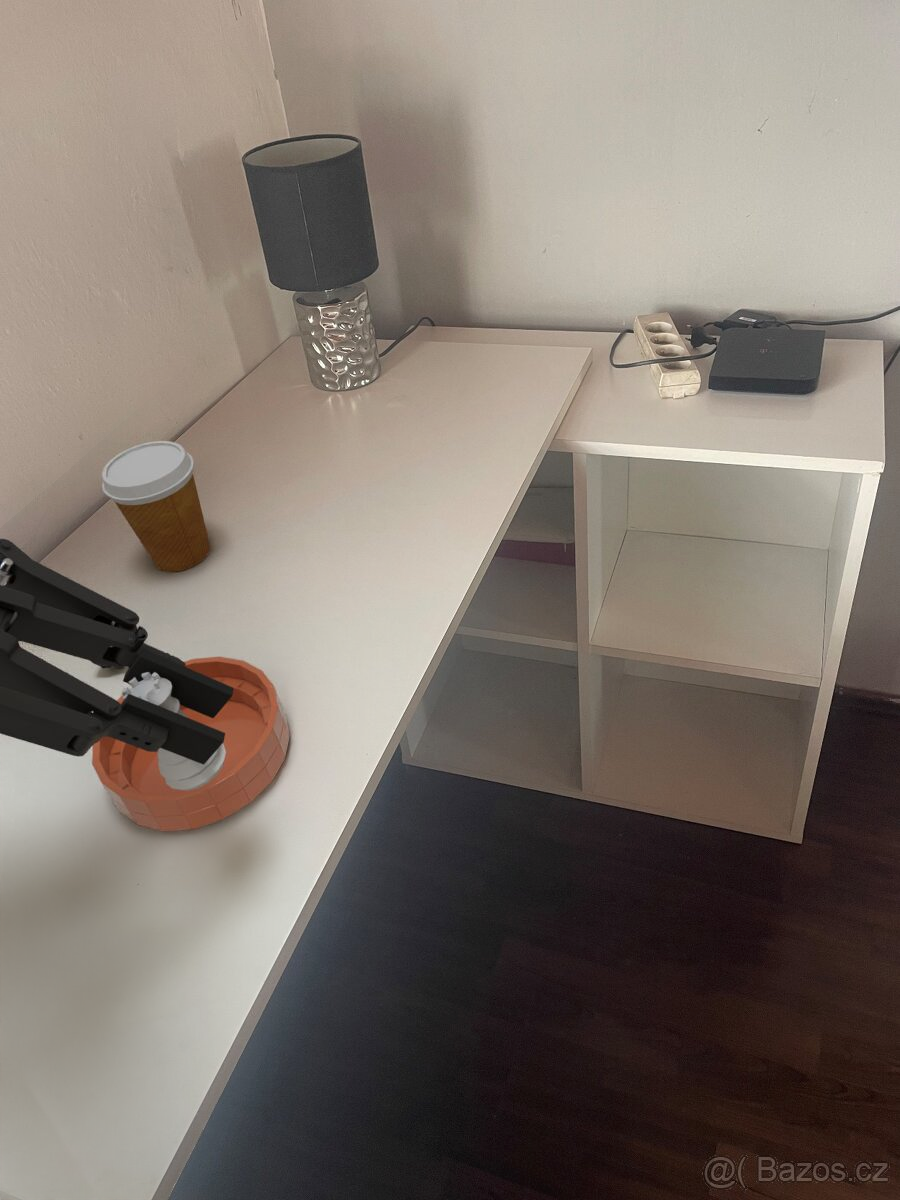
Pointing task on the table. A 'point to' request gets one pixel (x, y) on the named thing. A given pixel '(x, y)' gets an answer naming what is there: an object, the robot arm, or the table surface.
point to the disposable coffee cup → (160, 502)
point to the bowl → (247, 765)
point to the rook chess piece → (171, 765)
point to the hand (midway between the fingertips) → (218, 725)
